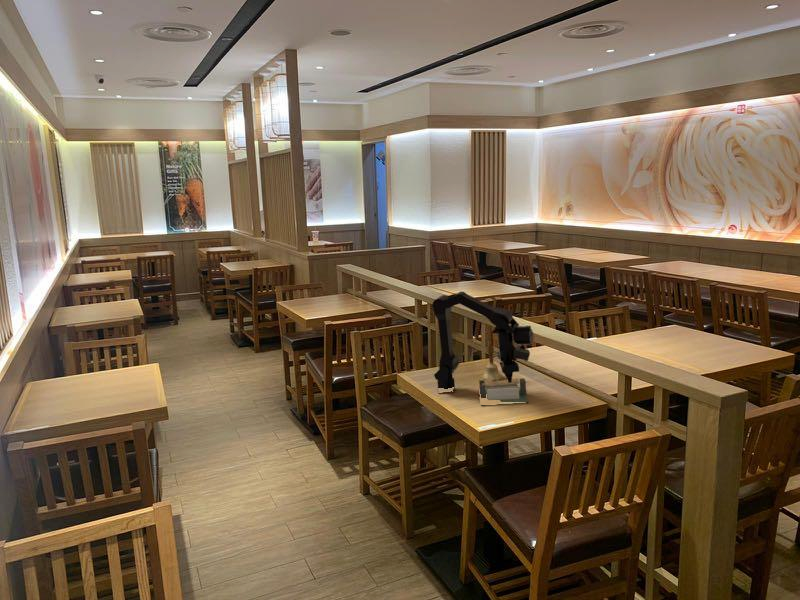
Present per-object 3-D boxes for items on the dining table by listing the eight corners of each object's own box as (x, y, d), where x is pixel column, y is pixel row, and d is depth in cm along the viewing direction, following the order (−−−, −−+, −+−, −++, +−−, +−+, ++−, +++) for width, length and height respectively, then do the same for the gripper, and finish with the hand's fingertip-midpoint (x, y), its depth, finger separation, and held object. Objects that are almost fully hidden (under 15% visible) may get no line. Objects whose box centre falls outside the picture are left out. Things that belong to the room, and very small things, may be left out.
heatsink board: (480, 406, 227) (479, 390, 225) (478, 391, 240) (477, 376, 239) (528, 403, 225) (527, 387, 224) (523, 388, 239) (522, 373, 237)
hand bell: (491, 382, 248) (489, 346, 244) (478, 377, 255) (476, 342, 251) (506, 377, 252) (504, 341, 248) (493, 372, 259) (491, 337, 255)
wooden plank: (482, 387, 231) (482, 385, 231) (482, 384, 234) (481, 382, 234) (519, 383, 230) (518, 381, 229) (518, 380, 232) (517, 378, 232)
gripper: (531, 348, 218) (534, 388, 221) (523, 333, 236) (527, 370, 239) (500, 352, 219) (504, 391, 222) (495, 336, 237) (499, 373, 240)
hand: (509, 381), depth 231 cm, fingers closed, pressing on wooden plank
